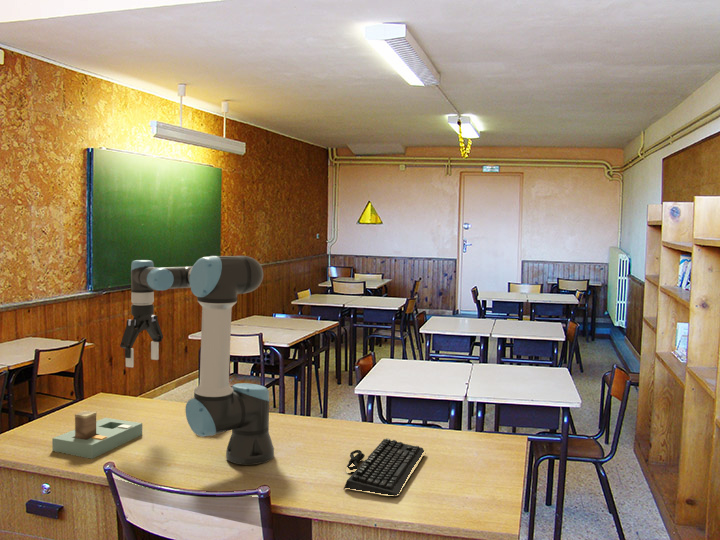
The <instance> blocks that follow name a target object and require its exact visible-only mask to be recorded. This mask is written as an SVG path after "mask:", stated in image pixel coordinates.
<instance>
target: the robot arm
mask: <svg viewBox="0 0 720 540" xmlns="http://www.w3.org/2000/svg"><path fill="white" fill-rule="evenodd" d="M130 265H131V266H130V267H131V269H130V285H131V286H130V289H131V297H130V298H131V301H130V302H131V305H130V306H131V307H130V310H131V311H130V314H131V315H132V316H133V319H128V318H127V319H126V326H125V329H124V331H123V336H122V339H121V341H120V344H119V347H120V348H122V349H124V359H125V367H126V368H134V366H135V364H134V363H135V361H134V360H135V357H134V355H135V354H134V352H135V351H134V348H133V347H134V344H135V342H136V340H137V338H138V336H139V335H140V333H141V332H142V331H145V330H146V333H147V334H148V335H149V337H150V338H151V340H152V341H151V342H150V360H154V361H158V360H159V359H160V358H159V357H160V356H159V355H160V354H159V352H160V351H159V349H160V343H161V342H162V341H163V340H164V334H163V332H162V329H161V326H160V322H159V317H158V315H155V313H154V312H155V310H154V309H155V305H154V304H153V303H154V302H155V298H154V297H155V296H154V295H155V291H166V290H173V289H190V291H191V293H192V294H193V295H194V296H195V297H196V299H197V300H196V301H197V303H198V304H199V305H200V306H201V307H202V308H201V332H200V333H201V335H200V336H201V337H200V361H199V362H200V365H199V367H200V368H199V384H198V386H196V388H194V390H193V392H194V395H193V397H194V398H193V397H192V398H191V399H189V400H187V402H186V404H185V409H184V410H185V417H186V421H187V424H188V425H189V427H190V429H191V431H192V432H193V433H194V434H195V435H197V436H199V437H208V436H215V435H218V434H221V433H222V434H223V433H226V432H229V431H231V435H230V438H229V441H228V445H227V447H226V451H225V458H226V460H227V461H228V462H231V463H233V464H238V465H248V466H249V465H250V466H251V465H259V464H263V463H266V462H268V461H271V460H272V459H273V458H274V455H275V447H274V445H273V441H272V439H271V434H270V431H269V430H270V427H269V426H270V421H269V420H270V401H271V400H270V392H269V389H268V388H267V387H266V386H264V385H261V384H256V383H247V382H245V383H242V382H241V383H234V384H233V385H232V386H231V385H230V384H229V383H230V382H229V381H230V362H231V361H230V359H231V358H230V357H231V336H232V335H231V333H232V309H233V306H235V305H236V304H237V302H238V295H243V294H247V293H251V292H254V291H255V290H257V289H258V288H259V287H260V285H261V284H262V283H263V280H264V270H263V266H262V265H261V263H260V262H259V261H258V260H257V259H255V258H254V257H250V256H248V255H210V256H203V257H200V258H198V259H197V260H196V261H195V263H194V264H193V265H192V266H191V265H190V266H168V267H166V266H165V267H164V266H163V267H155V264H154V261H153V260H149V259H136V260H132V261H131V264H130Z"/></svg>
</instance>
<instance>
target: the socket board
mask: <svg viewBox="0 0 720 540" xmlns="http://www.w3.org/2000/svg"><path fill="white" fill-rule="evenodd" d="M142 435H143V423H142V422H136V421H130V420H122V419H117V418H110V417H103V418H101V419H97V420H96V436H93V437H92V438H90V439H87V440H84V439H78V438H75V429H73V430H70V431H68V432H64V433H62V434H60V435H57V436H55V437H53V438H52V437H51V441H52V442H51V447H52V449H51V450H52V452H53V451H55V452H54V453H59V452H62V453H61V454H64V453H66V454H65V455H69V454H71V455H70V456H75V455H76V456H75V457H80V456H81V458H86V459H91V460H93V459H95V458H96V457H99V456H102V455H103V454H105V453H107V452H110V451H111V450H113V449H116V448H117V447H120V446H122V445H123V444H126V443H128V442H131V441H132V440H134V439H136V438H139V437H141V436H142Z"/></svg>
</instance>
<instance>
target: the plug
mask: <svg viewBox="0 0 720 540" xmlns="http://www.w3.org/2000/svg"><path fill="white" fill-rule="evenodd" d="M96 421H97V412H96V411H90V410H84V411H80V412H77V413H75V414H74V430H75V438H78V439H84V440H87V439H90V438H92V437H93V436H96Z"/></svg>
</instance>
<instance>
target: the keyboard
mask: <svg viewBox="0 0 720 540" xmlns="http://www.w3.org/2000/svg"><path fill="white" fill-rule="evenodd" d="M424 451H425V450H424V448H423V447H420V446H419V445H411V444H408V443H407V444H406V443H403V442H401V441H397V440H396V439H392V440H391V439H390V438H387V437H386V438H383V439H382V440H381V442H380V443H379V444H378V445H377V446H376V448H374V450H373V451H372V452H371V453H370V454H369V455H368V457H367V459H365V460H364V461H363V462H362V463H361V464H360V462H361V461H362V460H363V459H364V458H365V453H363V451H361V450H360V449H355V450H353V451H351V452H350V454H349V457H350V458H351V459H349V460H348V464H347V465H346V467H348V468H350V470H352V469H357V470H356V471H355V472H354V473H351V476H349V478H348V479H347V480H346V482H345V485H344V488H350V489H356V490H362V491H370V492H375V493H381V494H388V495H397V494H399V492H400V490H401V488H402V486H403V484H404V483H405V481H406V479H407V477H408V475H409V474H410V472H411V470H412V468H413V467H414V465H415V464H416V462H417V461H418V460H419V458H420V457H421V455H422V453H423V452H424ZM354 454H356V455H354ZM360 460H361V461H360ZM359 461H360V462H359ZM352 463H353V464H354V465H355V466H353V467H349V466H350V465H351V464H352ZM358 463H359V464H360V465H359V464H358ZM357 467H358V468H357ZM344 488H343V489H344Z"/></svg>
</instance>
